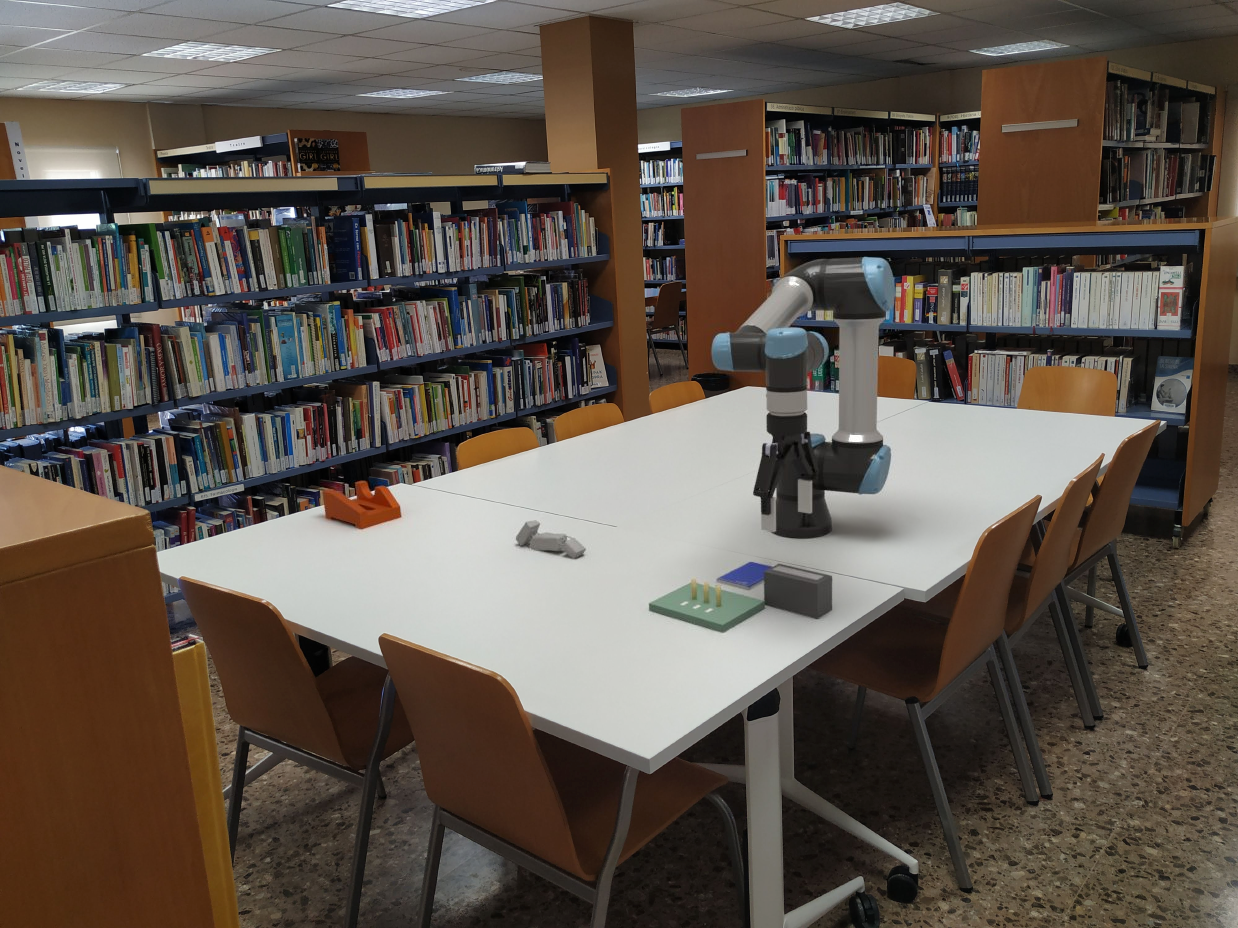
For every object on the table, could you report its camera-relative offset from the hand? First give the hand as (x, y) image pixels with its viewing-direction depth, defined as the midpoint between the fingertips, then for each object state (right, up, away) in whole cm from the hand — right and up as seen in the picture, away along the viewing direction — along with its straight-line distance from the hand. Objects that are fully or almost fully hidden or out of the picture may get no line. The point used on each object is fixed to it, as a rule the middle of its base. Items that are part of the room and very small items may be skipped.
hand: (787, 521), depth 178 cm
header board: (-15, -18, +6) cm, 24 cm away
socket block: (+3, -17, +4) cm, 18 cm away
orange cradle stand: (-103, -5, +80) cm, 131 cm away
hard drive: (-4, -14, +21) cm, 26 cm away
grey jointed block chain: (-49, -10, +45) cm, 67 cm away
